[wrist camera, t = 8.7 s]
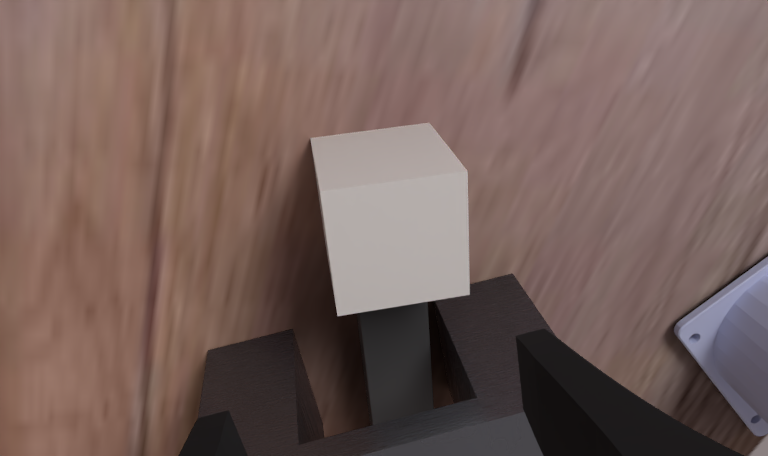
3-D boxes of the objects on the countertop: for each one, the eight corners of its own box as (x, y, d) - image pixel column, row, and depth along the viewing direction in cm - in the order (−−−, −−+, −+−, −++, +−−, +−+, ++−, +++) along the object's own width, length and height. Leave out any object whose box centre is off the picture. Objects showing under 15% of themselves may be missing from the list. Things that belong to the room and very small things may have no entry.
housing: (522, 370, 26) (598, 505, 20) (246, 443, 25) (238, 605, 19) (512, 273, 24) (594, 392, 18) (208, 350, 23) (185, 502, 17)
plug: (444, 453, 27) (474, 542, 23) (357, 469, 27) (372, 563, 23) (429, 122, 20) (467, 170, 16) (310, 138, 20) (319, 191, 16)
